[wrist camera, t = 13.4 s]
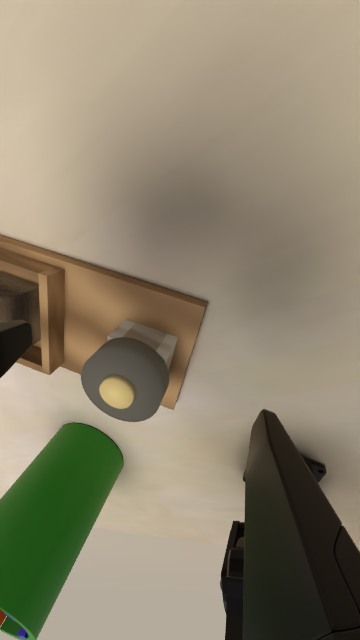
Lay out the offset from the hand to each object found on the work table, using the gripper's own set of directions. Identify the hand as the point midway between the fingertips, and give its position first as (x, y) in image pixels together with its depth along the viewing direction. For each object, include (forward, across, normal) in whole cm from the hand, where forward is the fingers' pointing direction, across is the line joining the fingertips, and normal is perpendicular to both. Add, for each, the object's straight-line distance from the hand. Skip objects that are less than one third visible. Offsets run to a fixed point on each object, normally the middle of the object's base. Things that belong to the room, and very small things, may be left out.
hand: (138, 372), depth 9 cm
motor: (+13, +8, +28) cm, 32 cm away
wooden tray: (+13, +10, +8) cm, 18 cm away
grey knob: (+12, +3, +8) cm, 14 cm away
